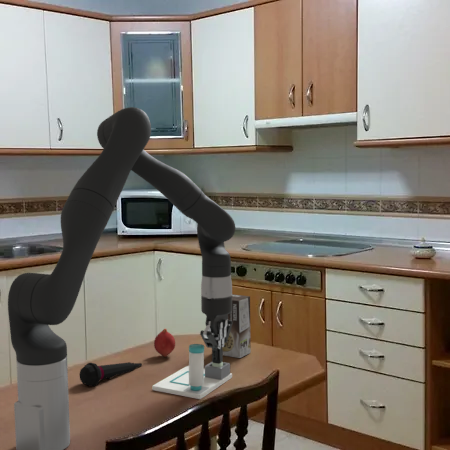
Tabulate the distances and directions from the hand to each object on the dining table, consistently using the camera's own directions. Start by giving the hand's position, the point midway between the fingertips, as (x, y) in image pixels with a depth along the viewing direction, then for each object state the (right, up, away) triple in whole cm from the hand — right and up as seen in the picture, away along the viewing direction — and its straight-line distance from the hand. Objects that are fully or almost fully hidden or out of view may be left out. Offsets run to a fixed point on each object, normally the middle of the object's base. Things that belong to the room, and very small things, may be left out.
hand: (217, 362), depth 158 cm
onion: (-15, -3, +19) cm, 24 cm away
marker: (-5, -4, -9) cm, 11 cm away
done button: (0, -2, 0) cm, 2 cm away
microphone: (-26, -5, +3) cm, 26 cm away
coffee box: (+4, -2, +21) cm, 22 cm away
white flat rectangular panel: (-6, -5, -2) cm, 8 cm away
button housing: (0, -3, 0) cm, 3 cm away
